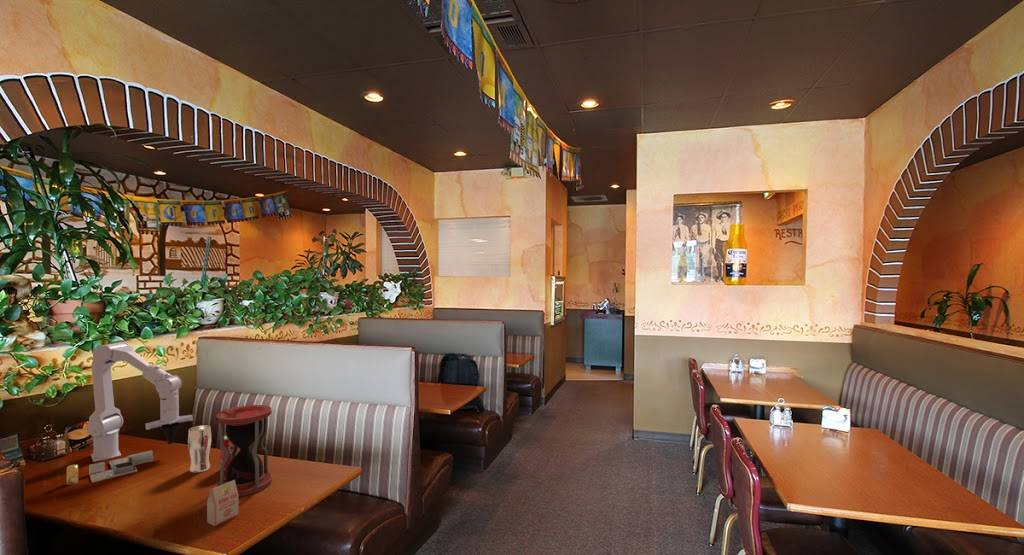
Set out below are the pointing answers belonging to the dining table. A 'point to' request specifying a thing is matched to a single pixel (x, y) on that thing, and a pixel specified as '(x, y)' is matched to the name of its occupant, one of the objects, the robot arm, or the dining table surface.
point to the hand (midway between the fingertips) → (170, 443)
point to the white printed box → (222, 503)
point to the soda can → (230, 447)
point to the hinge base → (99, 472)
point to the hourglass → (245, 447)
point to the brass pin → (72, 474)
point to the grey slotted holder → (135, 458)
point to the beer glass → (199, 448)
